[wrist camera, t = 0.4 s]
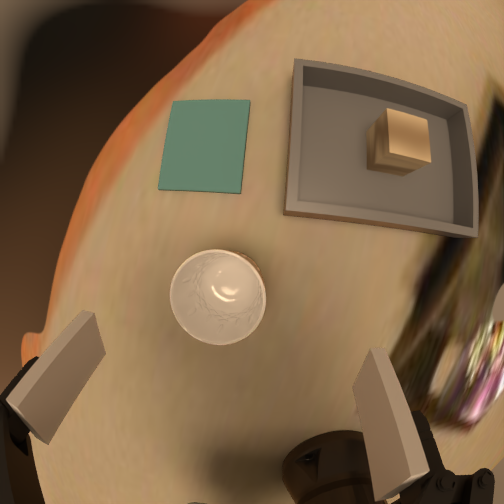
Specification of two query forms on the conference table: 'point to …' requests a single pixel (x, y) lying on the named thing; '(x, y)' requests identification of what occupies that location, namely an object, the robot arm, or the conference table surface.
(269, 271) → the conference table surface
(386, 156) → the maple block
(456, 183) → the crate
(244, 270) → the white cup
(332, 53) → the conference table surface
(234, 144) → the teal mat
